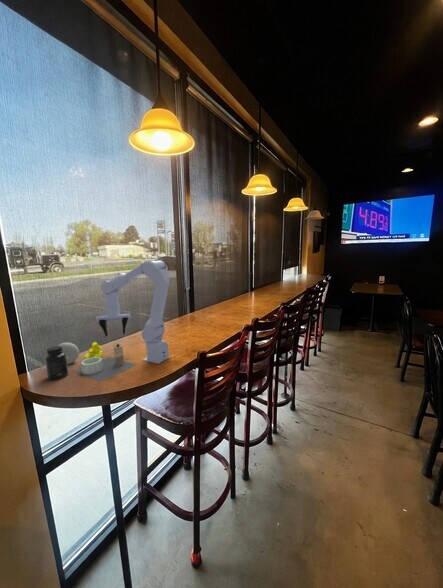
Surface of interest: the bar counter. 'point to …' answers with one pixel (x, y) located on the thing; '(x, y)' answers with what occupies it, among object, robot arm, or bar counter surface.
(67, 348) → the grey round disc
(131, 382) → the bar counter surface
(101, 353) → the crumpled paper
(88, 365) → the jar
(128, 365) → the mat
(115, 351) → the peg
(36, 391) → the bar counter surface
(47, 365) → the supplement bottle
